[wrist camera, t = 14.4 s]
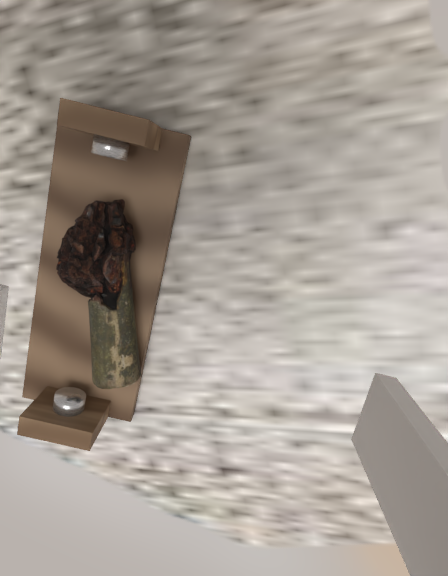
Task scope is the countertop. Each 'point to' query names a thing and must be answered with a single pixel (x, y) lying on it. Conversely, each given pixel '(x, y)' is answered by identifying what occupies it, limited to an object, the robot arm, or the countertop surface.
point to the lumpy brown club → (104, 289)
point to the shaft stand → (144, 263)
